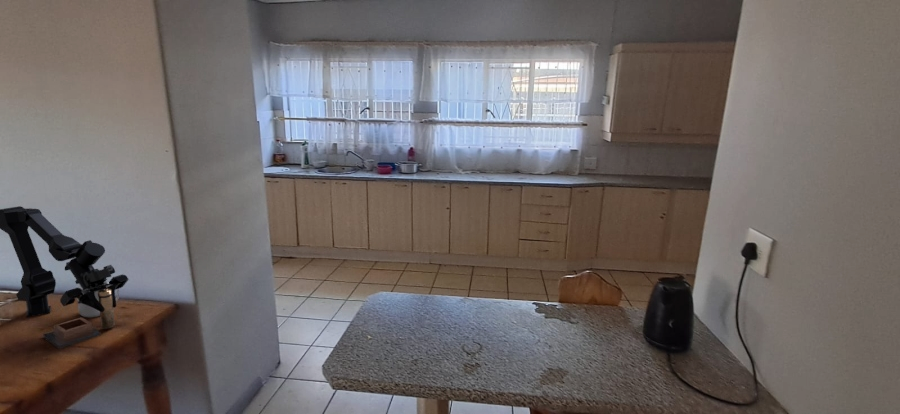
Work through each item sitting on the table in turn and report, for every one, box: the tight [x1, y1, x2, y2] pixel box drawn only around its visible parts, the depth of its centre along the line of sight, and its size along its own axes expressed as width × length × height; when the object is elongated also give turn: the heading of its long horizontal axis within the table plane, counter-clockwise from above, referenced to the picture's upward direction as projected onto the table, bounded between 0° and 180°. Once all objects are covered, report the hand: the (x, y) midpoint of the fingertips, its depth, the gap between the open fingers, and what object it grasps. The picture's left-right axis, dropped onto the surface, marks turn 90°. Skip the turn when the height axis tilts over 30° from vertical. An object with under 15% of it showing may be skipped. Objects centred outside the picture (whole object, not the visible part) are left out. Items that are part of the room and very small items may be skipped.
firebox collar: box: [42, 316, 101, 349], centre depth 143 cm, size 12×11×4 cm
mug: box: [75, 280, 120, 318], centre depth 160 cm, size 12×9×11 cm
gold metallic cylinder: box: [98, 289, 116, 330], centre depth 148 cm, size 4×4×13 cm
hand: (109, 309), depth 148 cm, fingers closed on gold metallic cylinder, 4 cm apart
